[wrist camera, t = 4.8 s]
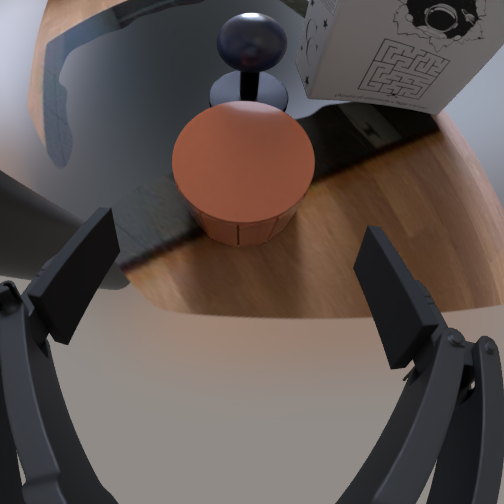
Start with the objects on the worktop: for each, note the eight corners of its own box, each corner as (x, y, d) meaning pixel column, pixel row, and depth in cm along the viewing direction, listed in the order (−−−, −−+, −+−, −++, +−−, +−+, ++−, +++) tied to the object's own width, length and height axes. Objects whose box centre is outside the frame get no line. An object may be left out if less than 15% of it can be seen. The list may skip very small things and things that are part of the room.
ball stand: (215, 134, 27) (210, 97, 21) (205, 80, 28) (201, 44, 22) (296, 124, 27) (308, 87, 21) (276, 72, 29) (282, 36, 23)
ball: (223, 89, 22) (220, 37, 15) (214, 52, 22) (211, 6, 16) (290, 83, 22) (301, 33, 16) (273, 46, 23) (280, 2, 17)
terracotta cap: (198, 255, 25) (180, 236, 17) (184, 160, 26) (167, 113, 18) (304, 235, 25) (332, 208, 17) (280, 144, 27) (293, 95, 19)
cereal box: (418, 80, 31) (488, -18, 6) (437, 116, 30) (527, 18, 5) (293, 62, 29) (331, -96, 5) (307, 100, 28) (368, -86, 4)
